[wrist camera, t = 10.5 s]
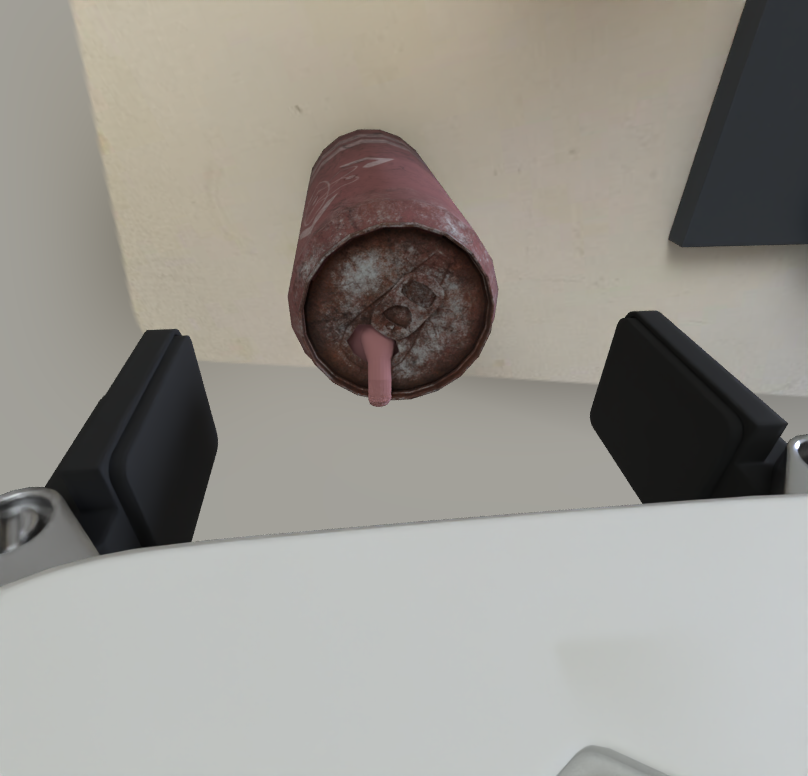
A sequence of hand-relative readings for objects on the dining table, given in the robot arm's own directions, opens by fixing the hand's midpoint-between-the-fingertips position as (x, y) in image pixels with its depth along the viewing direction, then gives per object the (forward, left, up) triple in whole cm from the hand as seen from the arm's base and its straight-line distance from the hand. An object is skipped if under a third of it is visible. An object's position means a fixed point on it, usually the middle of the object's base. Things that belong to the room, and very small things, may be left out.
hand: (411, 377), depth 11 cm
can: (0, 0, -17) cm, 17 cm away
